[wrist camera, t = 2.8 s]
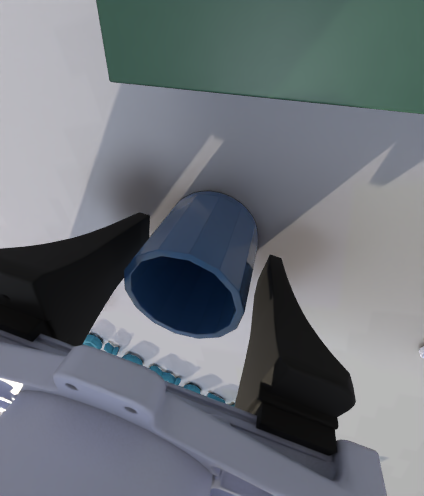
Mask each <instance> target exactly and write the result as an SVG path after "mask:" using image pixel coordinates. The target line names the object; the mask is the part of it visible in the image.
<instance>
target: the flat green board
mask: <svg viewBox="0 0 424 496" xmlns="http://www.w3.org/2000/svg"><path fill="white" fill-rule="evenodd" d="M96 2H97V8H98V14H99V20H100V26H101V32H102V38H103V44H104V50H105V56H106V62H107V68H108V74H109V80H110V81H111V82H116V83H126V84H136V85H145V86H155V87H165V88H175V89H184V90H194V91H204V92H213V93H223V94H233V95H243V96H252V97H262V98H272V99H282V100H291V101H301V102H311V103H321V104H330V105H340V106H350V107H359V108H369V109H379V110H389V111H398V112H408V113H418V114H424V0H96Z"/></svg>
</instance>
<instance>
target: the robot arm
mask: <svg viewBox="0 0 424 496" xmlns="http://www.w3.org/2000/svg"><path fill="white" fill-rule="evenodd" d="M149 224H150V216H149V215H146V214H143V213H137V214H135V215H132V216H130V217H128V218H126V219H123V220H121V221H119V222H116V223H114V224H112V225H109V226H107V227H104V228H102V229H99V230H96V231H94V232H91V233H88V234H85V235H81V236H78V237H74V238H70V239H66V240H61V241H57V242H52V243H47V244H41V245H33V246H26V247H15V248H3V249H0V408H1V409H3V410H5V411H4V412H3V413H2V414H1V416H0V496H387V494H386V489H385V484H384V479H383V475H382V470H381V465H380V460H379V455H378V453H377V452H376V451H375V450H372V449H370V448H367V447H364V446H362V445H359V444H356V443H354V442H351V441H348V440H337V441H336V437H335V429H338V419H337V417H338V416H340V415H342V414H343V413H345V412H347V411H349V410H350V409H351V408H352V407H353V406H354V405H355V402H356V400H355V394H354V388H353V384H352V380H351V377H350V373H349V372H348V371H347V370H346V369H345V368H344V367H343V366H342V365H341V364H340V362H339V361H338V360H337V359H336V358H335V357H334V356H333V355H332V353H331V352H330V351H329V350H328V348H327V347H326V346H325V345H324V343H323V342H322V341H321V339H320V338H319V337H318V335H317V334H316V332H315V331H314V330H313V328H312V327H311V325H310V324H309V322H308V320H307V319H306V317H305V315H304V314H303V312H302V310H301V308H300V306H299V304H298V302H297V300H296V298H295V296H294V293H293V291H292V288H291V286H290V283H289V281H288V278H287V275H286V272H285V269H284V266H283V262H282V259H281V258H279V257H276V256H273V255H270V256H269V258H268V260H267V262H266V264H265V266H264V268H263V270H262V273H261V275H260V277H259V279H258V282H257V287H256V291H255V295H254V305H253V315H252V325H251V334H250V340H249V345H248V350H247V354H246V359H245V364H244V368H243V373H242V377H241V381H240V386H239V390H238V394H237V398H236V402H235V406H234V407H233V406H230V405H228V404H225V403H222V402H220V401H217V400H215V399H212V398H209V397H207V396H204V395H201V394H199V393H196V392H194V391H191V390H188V389H186V388H183V387H180V386H178V385H175V384H172V383H170V382H167V381H165V380H163V378H162V377H161V376H160V375H158V374H157V373H156V372H155V371H153V370H151V369H149V368H147V367H145V366H142V365H139V364H137V363H134V362H131V361H129V360H126V359H124V358H121V357H118V356H116V355H113V354H110V353H108V352H105V351H102V350H100V349H97V348H94V347H91V346H87V345H82V344H83V343H84V341H85V339H86V337H87V335H88V333H89V331H90V330H91V328H92V326H93V324H94V323H95V321H96V319H97V317H98V316H99V314H100V312H101V311H102V309H103V307H104V306H105V304H106V303H107V301H108V299H109V298H110V296H111V295H112V293H113V292H114V290H115V289H116V287H117V286H118V285H119V283H120V282H121V281H122V280H123V278H124V269H125V268H126V267H127V266H128V264H129V263H130V262H131V260H132V259H133V258H134V256H135V255H136V254H137V253H138V251H139V250H140V249H141V248H142V246H143V245H144V244H145V243H146V241H147V240H148V239H149ZM419 353H420V355H421V357H422V358H424V346H423V347H422V348H420V350H419Z"/></svg>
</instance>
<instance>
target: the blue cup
mask: <svg viewBox="0 0 424 496" xmlns="http://www.w3.org/2000/svg"><path fill="white" fill-rule="evenodd" d="M257 247H258V230H257V226H256V223H255V221H254V219H253V217H252V215H251V214H250V212H249V211H248V210H247V209H246V208H245V207H244V206H243V205H242V204H241V203H240V202H238V201H237V200H235V199H234V198H232V197H230V196H228V195H225V194H223V193H218V192H212V191H202V192H196V193H193V194H190V195H188V196H186V197H184V198H183V199H182V200H181V201H179V202H178V203H177V204H176V206H175V207H174V208H173V209H172V211H171V212H170V213H169V214H168V216H167V217H166V218H165V219H164V220H163V222H162V223H161V224H160V225H159V227H158V228H157V229H156V230H155V232H154V233H153V234H152V235H151V237H150V238H149V239H148V240H147V241H146V243H145V244H144V245H143V246H142V248H141V249H140V250H139V251H138V253H137V254H136V255H135V256H134V258H133V259H132V260H131V262H130V263H129V264H128V266H127V267H126V268H125V269H124V282H125V290H126V292H127V293H128V295H129V297H130V298H131V300H132V302H133V303H134V305H135V307H136V308H137V309H138V310H140V311H141V312H142V313H143V314H144V315H145V316H147V317H148V318H149V319H150V320H151V321H152V322H154V323H156V324H158V325H160V326H162V327H164V328H166V329H168V330H170V331H172V332H174V333H176V334H180V335H185V336H189V337H193V338H199V339H200V338H216V337H221V336H223V335H225V334H227V333H229V332H231V331H233V330H235V329H236V328H237V327H238V325H239V323H240V321H241V319H242V316H243V314H244V312H245V307H246V302H247V297H248V292H249V287H250V282H251V277H252V272H253V267H254V262H255V257H256V252H257Z"/></svg>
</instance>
